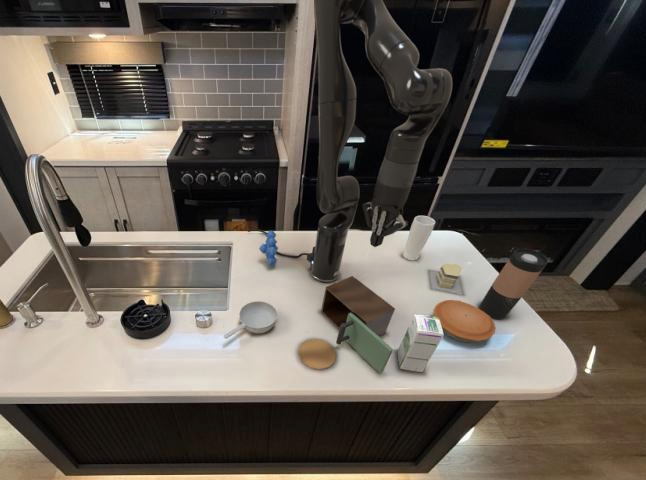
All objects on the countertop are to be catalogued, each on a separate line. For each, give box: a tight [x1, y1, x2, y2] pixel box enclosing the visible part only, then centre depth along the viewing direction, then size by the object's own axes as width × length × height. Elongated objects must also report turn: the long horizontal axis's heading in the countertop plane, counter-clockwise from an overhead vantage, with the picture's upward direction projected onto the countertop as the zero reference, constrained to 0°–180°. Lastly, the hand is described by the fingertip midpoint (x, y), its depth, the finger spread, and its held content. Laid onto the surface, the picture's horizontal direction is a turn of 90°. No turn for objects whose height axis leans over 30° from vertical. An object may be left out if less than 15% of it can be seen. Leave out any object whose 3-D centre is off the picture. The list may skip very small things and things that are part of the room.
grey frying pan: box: [223, 300, 278, 339], centre depth 89 cm, size 11×18×4 cm, turn 134°
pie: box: [432, 299, 496, 343], centre depth 88 cm, size 15×16×5 cm
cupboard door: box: [335, 313, 394, 375], centre depth 79 cm, size 14×5×9 cm, turn 30°
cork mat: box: [298, 339, 337, 370], centre depth 83 cm, size 10×10×1 cm
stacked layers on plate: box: [429, 263, 463, 295], centre depth 103 cm, size 10×9×6 cm
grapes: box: [258, 229, 279, 268], centre depth 110 cm, size 12×7×12 cm, turn 2°
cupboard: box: [320, 275, 396, 338], centre depth 88 cm, size 16×10×10 cm, turn 30°
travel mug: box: [478, 248, 549, 320], centre depth 88 cm, size 8×8×20 cm
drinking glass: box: [402, 215, 436, 261], centre depth 111 cm, size 7×7×15 cm
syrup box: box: [396, 313, 445, 373], centre depth 76 cm, size 6×6×14 cm
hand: (374, 245), depth 82 cm, fingers closed
